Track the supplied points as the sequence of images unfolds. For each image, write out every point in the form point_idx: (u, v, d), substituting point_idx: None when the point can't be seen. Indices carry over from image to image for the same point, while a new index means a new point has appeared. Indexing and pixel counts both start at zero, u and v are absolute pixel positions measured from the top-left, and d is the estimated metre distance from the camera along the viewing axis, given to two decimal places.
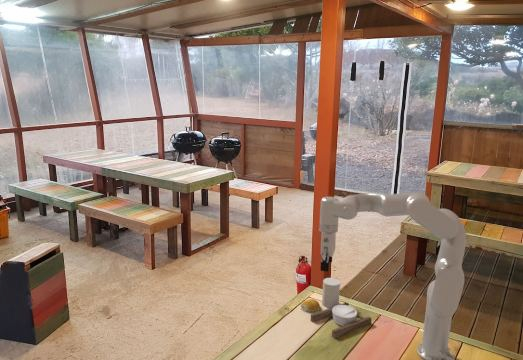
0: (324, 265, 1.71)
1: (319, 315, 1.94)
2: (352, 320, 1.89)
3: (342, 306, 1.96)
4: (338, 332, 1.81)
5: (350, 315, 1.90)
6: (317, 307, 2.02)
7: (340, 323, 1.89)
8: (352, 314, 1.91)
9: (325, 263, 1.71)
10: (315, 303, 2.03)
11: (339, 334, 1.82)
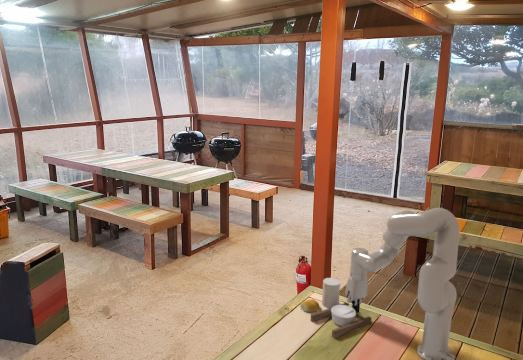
0: None
1: (319, 315, 1.94)
2: (351, 320, 1.89)
3: (341, 306, 1.96)
4: (338, 332, 1.81)
5: (349, 315, 1.90)
6: (317, 307, 2.02)
7: (339, 323, 1.89)
8: (351, 314, 1.91)
9: None
10: (315, 303, 2.03)
11: (339, 334, 1.82)
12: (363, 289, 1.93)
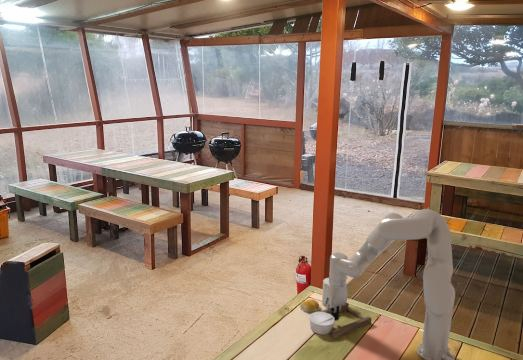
0: None
1: None
2: (329, 328, 1.82)
3: (320, 313, 1.90)
4: (338, 332, 1.81)
5: (327, 323, 1.83)
6: (317, 307, 2.02)
7: (317, 331, 1.83)
8: (329, 322, 1.84)
9: None
10: (315, 303, 2.03)
11: (339, 334, 1.82)
12: (342, 296, 1.87)
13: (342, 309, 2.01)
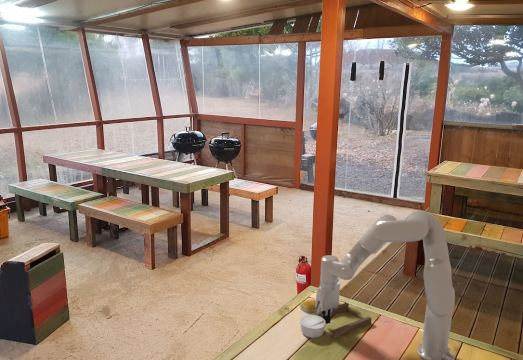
0: None
1: (319, 315, 1.94)
2: (320, 331, 1.79)
3: (311, 316, 1.87)
4: (338, 332, 1.81)
5: (318, 326, 1.80)
6: (316, 307, 2.02)
7: (307, 334, 1.80)
8: (320, 325, 1.81)
9: None
10: (314, 303, 2.03)
11: (339, 334, 1.82)
12: (334, 299, 1.84)
13: (342, 309, 2.01)
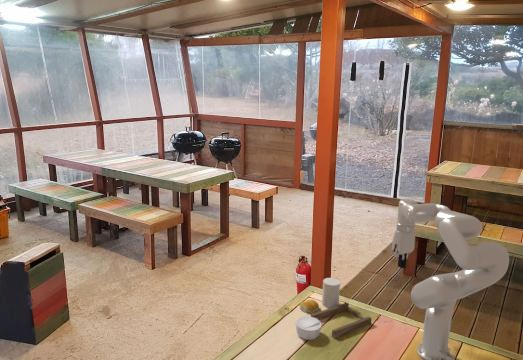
0: None
1: (319, 315, 1.94)
2: (315, 333, 1.78)
3: (307, 318, 1.86)
4: (338, 332, 1.81)
5: (313, 328, 1.79)
6: (316, 308, 2.02)
7: (302, 336, 1.79)
8: (316, 327, 1.80)
9: None
10: (314, 304, 2.02)
11: (339, 334, 1.82)
12: (411, 242, 1.84)
13: (342, 309, 2.01)
